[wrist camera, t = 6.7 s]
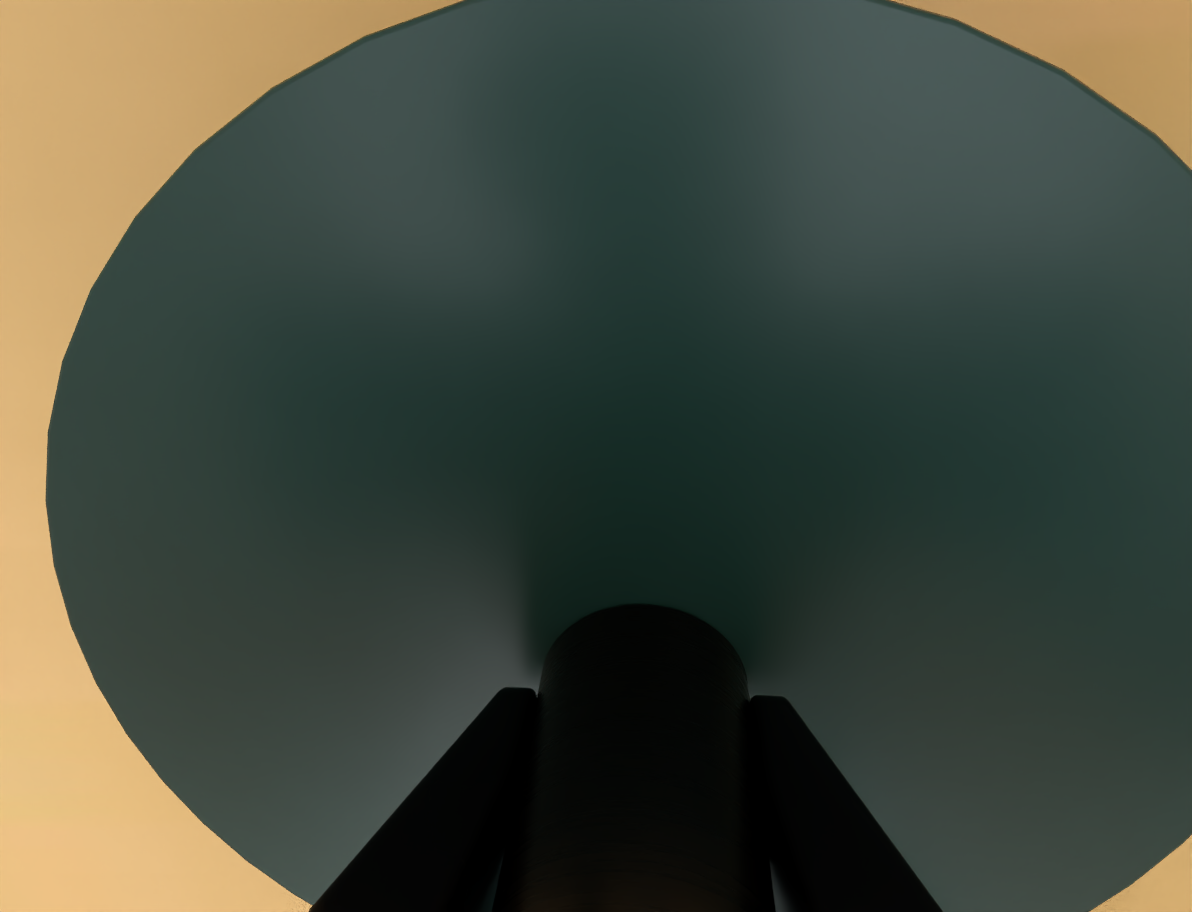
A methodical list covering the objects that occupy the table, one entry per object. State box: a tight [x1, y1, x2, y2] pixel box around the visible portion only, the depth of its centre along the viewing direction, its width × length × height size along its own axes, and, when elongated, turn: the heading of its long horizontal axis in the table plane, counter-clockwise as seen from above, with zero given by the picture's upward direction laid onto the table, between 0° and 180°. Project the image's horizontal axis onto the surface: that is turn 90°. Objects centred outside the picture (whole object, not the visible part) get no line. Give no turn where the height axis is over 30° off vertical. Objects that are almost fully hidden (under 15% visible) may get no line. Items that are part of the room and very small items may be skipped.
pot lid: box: [46, 0, 1192, 912], centre depth 8 cm, size 15×15×6 cm
